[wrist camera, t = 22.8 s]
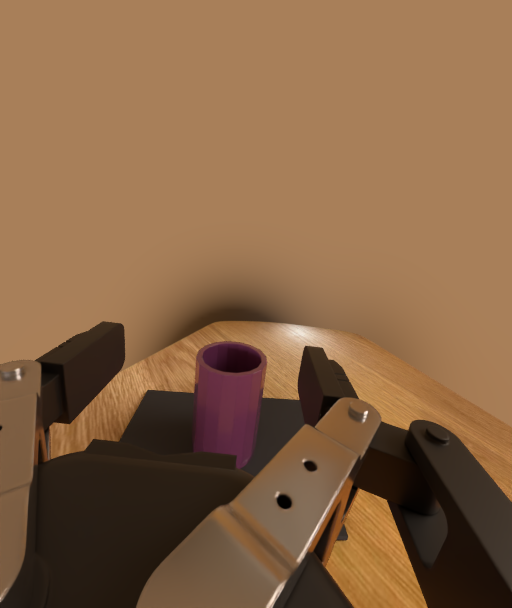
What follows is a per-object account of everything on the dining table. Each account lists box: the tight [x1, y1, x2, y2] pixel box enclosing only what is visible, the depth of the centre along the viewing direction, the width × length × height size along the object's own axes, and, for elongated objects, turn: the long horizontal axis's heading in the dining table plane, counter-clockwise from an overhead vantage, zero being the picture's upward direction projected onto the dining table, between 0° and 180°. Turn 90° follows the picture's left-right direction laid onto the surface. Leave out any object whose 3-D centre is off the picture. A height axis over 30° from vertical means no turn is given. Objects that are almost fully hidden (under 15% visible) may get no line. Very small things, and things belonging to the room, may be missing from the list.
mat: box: [119, 390, 348, 540], centre depth 27 cm, size 20×16×1 cm
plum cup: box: [192, 341, 267, 469], centre depth 26 cm, size 6×6×10 cm
